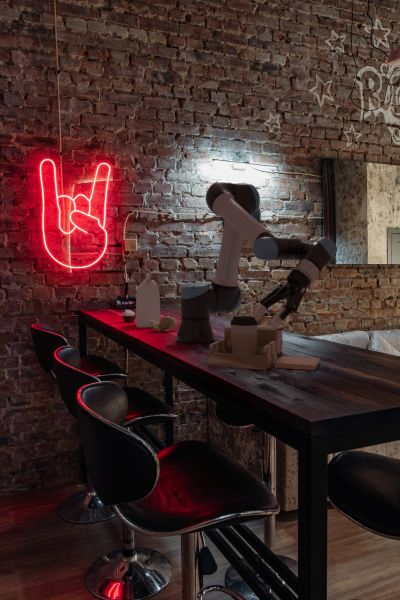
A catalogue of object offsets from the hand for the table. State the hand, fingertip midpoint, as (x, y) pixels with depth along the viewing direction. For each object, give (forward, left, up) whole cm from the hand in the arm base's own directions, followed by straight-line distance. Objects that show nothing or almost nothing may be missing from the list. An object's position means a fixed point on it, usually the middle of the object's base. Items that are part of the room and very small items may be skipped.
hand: (262, 323), depth 173 cm
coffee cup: (+3, -5, -13) cm, 14 cm away
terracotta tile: (+2, +12, -12) cm, 17 cm away
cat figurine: (-57, -59, -13) cm, 83 cm away
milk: (-74, -74, -13) cm, 106 cm away
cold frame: (+3, -5, -12) cm, 14 cm away
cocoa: (-84, -90, -13) cm, 124 cm away
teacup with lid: (-21, -2, -13) cm, 25 cm away
